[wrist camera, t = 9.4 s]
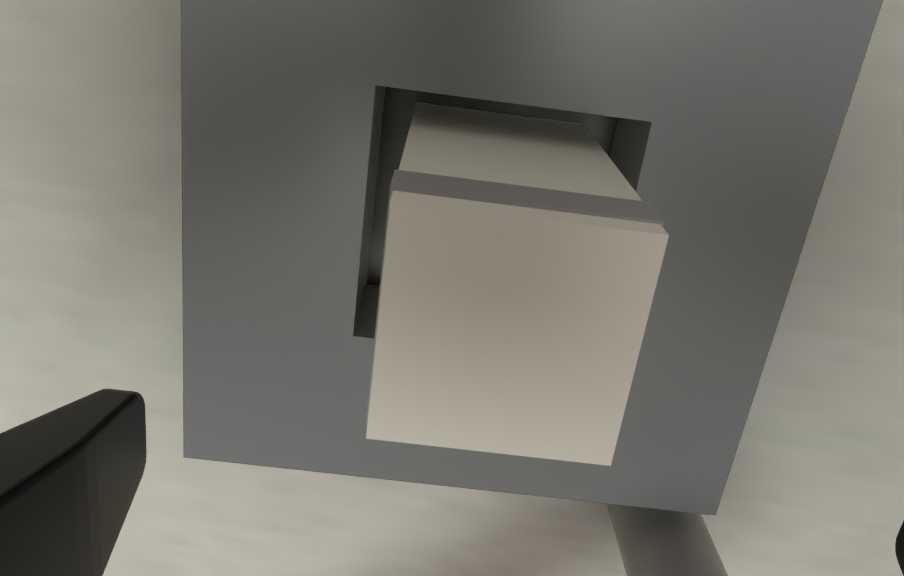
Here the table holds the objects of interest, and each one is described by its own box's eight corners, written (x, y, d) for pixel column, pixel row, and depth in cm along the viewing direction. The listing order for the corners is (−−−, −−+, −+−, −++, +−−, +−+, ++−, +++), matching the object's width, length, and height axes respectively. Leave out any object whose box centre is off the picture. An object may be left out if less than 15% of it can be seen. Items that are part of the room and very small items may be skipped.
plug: (586, 122, 18) (672, 232, 11) (555, 281, 20) (613, 468, 13) (414, 99, 18) (387, 196, 11) (396, 261, 20) (362, 441, 13)
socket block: (859, -50, 17) (1206, -56, 9) (679, 537, 23) (793, 831, 15) (226, -142, 16) (15, -233, 8) (217, 487, 23) (91, 768, 15)
